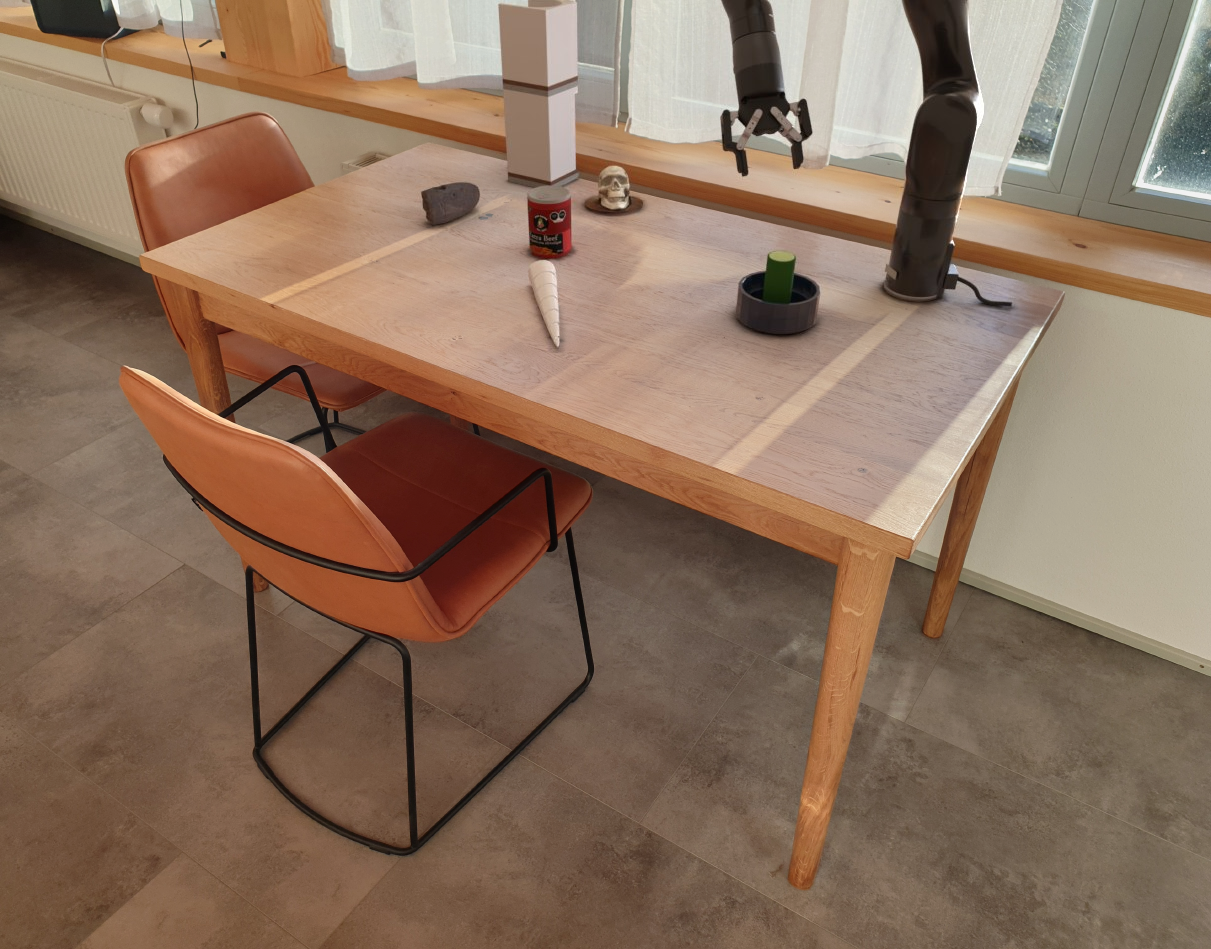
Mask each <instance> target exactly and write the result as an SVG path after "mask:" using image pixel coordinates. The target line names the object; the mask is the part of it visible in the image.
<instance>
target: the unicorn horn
mask: <svg viewBox="0 0 1211 949" xmlns="http://www.w3.org/2000/svg"><path fill="white" fill-rule="evenodd" d="M527 276H528V280H529V282H530V285H531V289H532V292H533V294H534V298H535V300H536V303H537V306H538V308H539V310H540V313H541V316H542V319H543V322H544V324H545V326H546V329H547V331H548V333H549V335H550V337H551V340H552V342H553V344H554V345H555V347H556V348H558V347H559V346H560V313H559V309H560V308H559V294H558V282H557V281H558V280H557V270H556V266H555V265H554V264H553V263H552V262H551V261H550V260H547V259H541V260H537V261H534V262H532V263H531V264H530V265H529V267H528V270H527Z"/></svg>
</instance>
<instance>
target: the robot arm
mask: <svg viewBox="0 0 1211 949" xmlns="http://www.w3.org/2000/svg"><path fill="white" fill-rule="evenodd" d="M720 1H721V4H722V7H723V10H724V11H725V13H726V16H727V18H728V22H729V32H730V39H731V40H730V41H731V45H732V47H731V48H732V67H733V68H732V71H733V74H734V82H735V88H736V95H737V102H738V103H737V104H738V110H731V111H730V109H727V108H726V109H724V110H723V111H722V113H721V115H720V117H719V118H720V130H721V131H720V132H721V145H722V150H723V151H724V152H730V153H733V154H734V156H735V157H734V158H735V163H736V164H735V165H736V171H737V173H738V174H741V177H743V178H744V177H748V175H749V165H748V164H749V163H748V159H747V158H748V156H747V151H746V150H745V146H746V145H747V143H748V141H749V139H750V138H751V136H752V135H753V136H755V137H761V136H764V135H775V134H776V133H779V135H781V136H782V138H785V139H786V140H787V141H788V142H789V143H790V144H791V146H790V154H791V161H792V168H793V170H798V169H800V168H801V166H802V164H803V163H804V160H805V159H804V158H805V156H804V150H803V142H805V141H807V140H809V138H810V137H811V136H812V135H813V127H812V122H811V121H812V120H811V116H810V111H809V110H810V109H809V105H808V100H807V99H805V98H800V100H799V101H795V102H789V101H788V98H787V95H786V88H785V80H784V74H783V66H782V58H781V52H780V46H779V43H778V38H777V31H776V25H775V19H774V18H775V17H774V10H773V7H772V4H771V2H770V0H720ZM901 4H902V8H903V12H904V14H905V17H906V20H907V23H908V25H909V28H910V30H911V32H912V36H913V38H914V41H915V44H916V47H917V50H918V54H919V60H920V68H921V79H922V102H921V104H920V106H919V107H918V108H917V111H916V113H915V116H914V120H913V124H912V129H911V134H910V140H909V145H908V151H907V157H906V162H905V168H904V183H903V188H902V194H901V199H900V204H899V209H898V215H897V219H896V224H895V229H894V235H893V240H892V243H891V244H892V245H891V250H890V253H889V254H890V255H889V260H888V264H887V263H886V264H885V268H884V272H885V273H886V274H885V280H884V283H883V289H884V291H885V292H886V293H887V294H889V296H892V297H894V298H897V299H900V300H903V301H904V300H905V301H909V302H929V301H934V300H942V299H943V297H944V292H945V290H956V288H957V285H958V284H957V283H958V282H959V283H961V284H963V285H965V286H967V287H969V288H970V289H971V290H972V291H973V292H974V295H975V297H976V299H977V300H978V301H979V302H981V303H983V304H985V305H990V306H996V307H997V306H999V307H1012V306H1013V302H1012V301H1003V300H1001V301H997V300H990V299H987V298H985V297H983V296H982V295H981V293H980V291H979V289H978V287H977V286H976V285H975V284H974V283H972V282H971V281H969V280H968V279H965V278H963V277H961V276H960V274H959V271H958V270H957V267H956V265H955V264H954V263H952V260H953V255H954V250H955V243H954V240H953V239H954V234H955V231H956V225H957V221H958V218H959V213H960V209H961V204H962V199H963V196H964V192H965V187H966V183H967V176H968V169H969V164H970V160H971V156H972V153H973V152H972V151H973V149H974V148H973V147H974V143H975V139H976V135H977V131H978V128H979V127H980V125H981V123H982V120H983V116H984V101H983V97H982V92H981V88H980V84H979V81H978V76H977V71H976V68H975V67H976V66H975V62H974V58H973V53H972V47H971V40H970V6H969V0H901ZM790 112H792V114H793V116H794V117H797V121H798V125H799V126H798V127H799V131H800V132H798V130H797V129H796V128H795V126H794V124H793V123H792V122H791V121H790V120H789V119H788V118H787V117H788V115H789V113H790ZM736 119H737V120H738V122H740V123H741V125H742V126H743V127H744V130H743V131H742V133H741V136H740V137H739V139H738V141H733V132H732V126H734V124H735V122H736Z"/></svg>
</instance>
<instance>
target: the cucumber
mask: <svg viewBox="0 0 1211 949" xmlns="http://www.w3.org/2000/svg"><path fill="white" fill-rule="evenodd" d="M796 260H797V256H796V254H794V253H792V252H790V251H785V250H775V251H772V252H769V253H768V254H767V257H766V266H765V271H766V273H765V282H764V291H763V300H762V301H767V302H772V303H784V304H789V303H790V300H791V292H792V285H793V277H794V273H795V270H796V262H797V261H796Z"/></svg>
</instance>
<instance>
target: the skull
mask: <svg viewBox="0 0 1211 949" xmlns="http://www.w3.org/2000/svg"><path fill="white" fill-rule="evenodd" d="M629 181H630V180H629V176H628V173H627V172H626V170H625V169H624V168H623V167H621V166H619V165H609V166H607V167H605V168H603V169H602V171H601V172H600V173H599V175H598V180H597V190H598V195H596V196H592V197H590V198H588V199H586V200H585V201H584V206H585V207H587V208H588V209H591V210H595V211H600V212H606V213H607V212H608V213H610V212H611V213H624V212H629V211H634V210H637V209H641V208H642V207H643V206H644V201H643V199H641V198H638V197H636V196H633V195H630V189H631V184H630V182H629Z"/></svg>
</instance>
